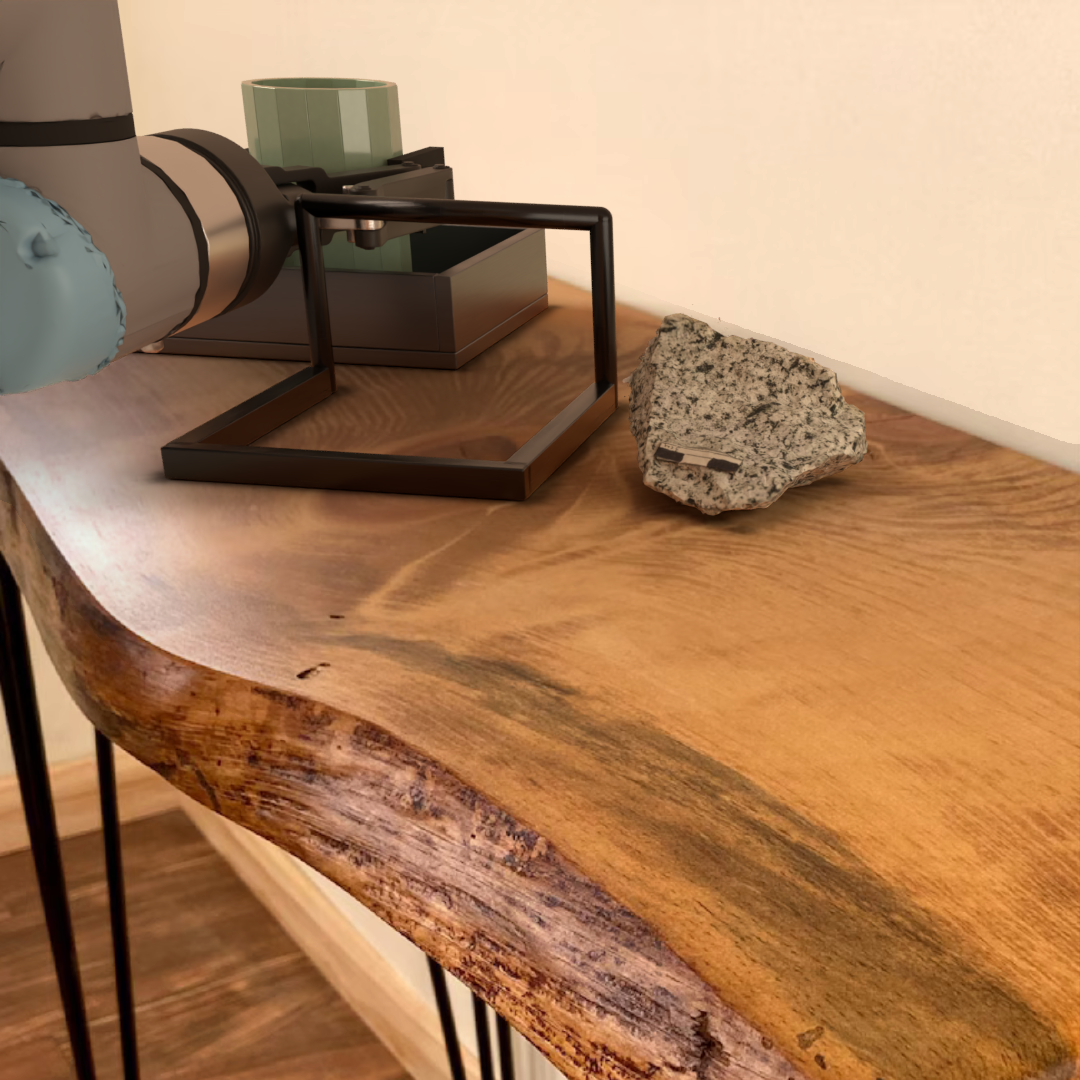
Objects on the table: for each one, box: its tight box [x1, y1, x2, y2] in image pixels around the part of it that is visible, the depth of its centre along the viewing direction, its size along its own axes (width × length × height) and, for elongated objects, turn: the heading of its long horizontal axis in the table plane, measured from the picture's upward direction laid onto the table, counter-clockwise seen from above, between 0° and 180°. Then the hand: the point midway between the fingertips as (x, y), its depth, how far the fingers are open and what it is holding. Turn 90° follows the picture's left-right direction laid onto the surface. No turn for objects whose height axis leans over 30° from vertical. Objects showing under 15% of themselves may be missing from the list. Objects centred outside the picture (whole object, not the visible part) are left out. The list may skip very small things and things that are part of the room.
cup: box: [240, 76, 412, 272], centre depth 90 cm, size 7×7×11 cm
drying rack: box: [160, 193, 619, 501], centre depth 72 cm, size 14×16×8 cm
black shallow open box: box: [134, 224, 549, 370], centre depth 92 cm, size 18×17×4 cm
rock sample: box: [621, 304, 874, 516], centre depth 67 cm, size 10×8×9 cm
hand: (363, 170), depth 94 cm, fingers open, 7 cm apart
